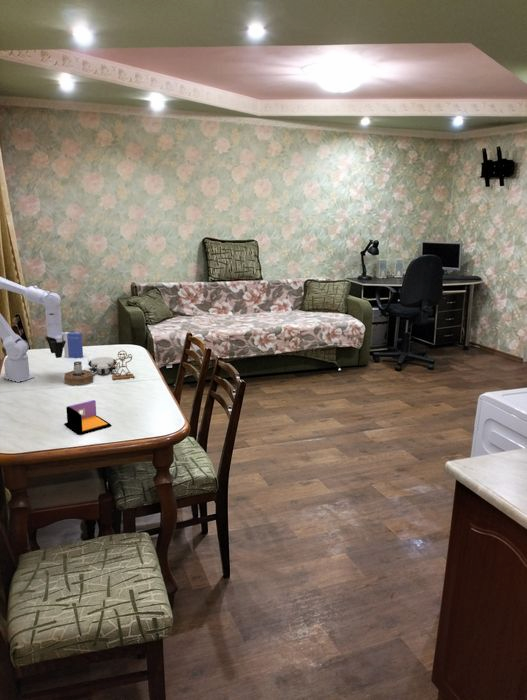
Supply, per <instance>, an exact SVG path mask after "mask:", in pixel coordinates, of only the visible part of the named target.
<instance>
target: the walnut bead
mask: <svg viewBox="0 0 527 700" xmlns="http://www.w3.org/2000/svg"><path fill="white" fill-rule="evenodd" d="M63 380H64V381H63V382H64V384H65V385H68V386H74V385H77V386H86V385H89V384H91V383H94V373H93V372H92V371H90V370H88V369H82V376H75V374H74V369H73V370H70V371H67V372H65V373H64V375H63ZM85 384H86V385H85ZM74 387H75V386H74Z"/></svg>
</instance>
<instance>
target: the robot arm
mask: <svg viewBox="0 0 527 700" xmlns="http://www.w3.org/2000/svg"><path fill="white" fill-rule="evenodd" d="M0 290H6V291H9V292H12V293H15V294H19V295H22V296H24V298H25V299H26V300H28V301H30V302H32V303H34V304H35V303H36V304H38V305H42V306H43V307H45V321H46V323H45V324H46V336H44V338H45V340H46V342H47V344H48V347H49V349H50V353H51V354H54V356H55V358H56V359H58V358H59V359H60V358H63V354H64V353H63V351H64V345H65V343H66V341H64V340H63V335H65V332H64V331H63V326H62V325H63V323H62V314H61V313H62V312H61V305H60V304H61V302H62V298H61V296H60V295H59V294H58V293H56V292H55V291H54V292H50V291H49V290H44V289H40V288H39V286H37V285H34V286H32V285H30V286H28V287H27V286H23V285H21V284H18V283H17V282H14V281H11V280H9V279H7V278H4V277H3V276H0ZM0 339H1V340H2V346H3V348H4V349H5V353H6V355H7V357H6V358H5V360H4V362H3V366H4V377H3V379H4V378H5V380H8V379H9V381H11V380H12V382H15V381H16V383H20V381H22V382H25V381H27V380H31V379H34V378H35V375H31V374H30V366H29V355H28V354H27V352H28V351H29V343H28V341H26V340H24V339H23V338H21V336H20V335H19V334H17V333H15V332H14V331H13V329H12V327H11V326H10V325H9V323H8V322H7V320H6V319H5V317H4V316H3V315H2V314H1V312H0Z"/></svg>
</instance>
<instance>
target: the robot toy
mask: <svg viewBox="0 0 527 700" xmlns="http://www.w3.org/2000/svg"><path fill="white" fill-rule="evenodd" d="M114 360H116V358H113V357H110V356H107V357H106V356H105V357H104V356H100V357H93V358H92V359H91V360H89V358H88V359H87V365H88V366H89V367H90V370H89V371H92V372H93V374H95V373H97V374H98V375H107V374H109V373H110V372H111V373H116V372H117V370H118V369H116V367H113V362H114ZM117 361H118V360H116V361H115V362H114V363H116V364H117V363H118V362H117ZM114 366H116V365H114Z"/></svg>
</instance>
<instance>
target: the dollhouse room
mask: <svg viewBox="0 0 527 700" xmlns="http://www.w3.org/2000/svg"><path fill="white" fill-rule="evenodd" d="M65 408H66V409H65V410H66V421H67V422H65V423H64V424H63V425H64V426H65V427H66V428H67V429H69V431H71V432H73V433H74V434H76V435H77V436H82V435H87V434H90V433H94V432H97V431H100V430H104V429H105V430H106V429H108V428H111V427H112V424H111V423H110V422H108V421H107V420H105V419H103V418H102V417H100V416H98V415H97V402H96V400H95V399H93V400H87V401H84V402H79V403H76V404H71V405H68V406H66V407H65ZM80 411H82V413H80Z"/></svg>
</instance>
